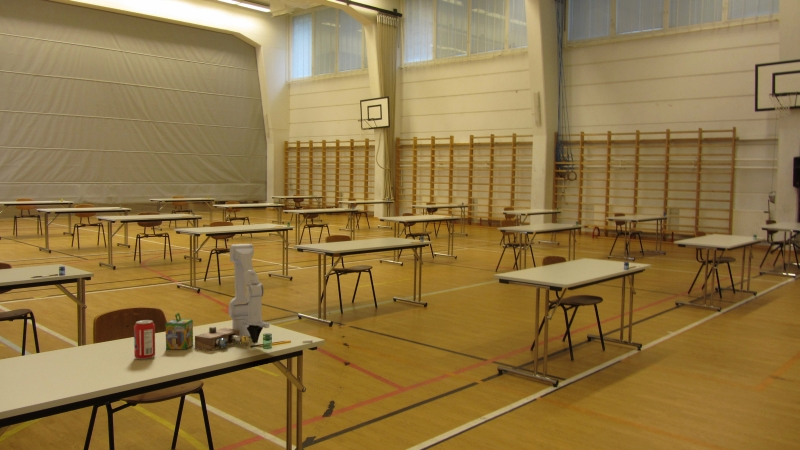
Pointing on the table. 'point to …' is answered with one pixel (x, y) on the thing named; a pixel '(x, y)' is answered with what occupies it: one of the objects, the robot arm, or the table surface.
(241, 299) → the robot arm
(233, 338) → the knob mustard
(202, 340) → the mount
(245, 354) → the table surface
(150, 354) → the soda can
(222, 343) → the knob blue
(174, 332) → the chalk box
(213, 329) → the dial
